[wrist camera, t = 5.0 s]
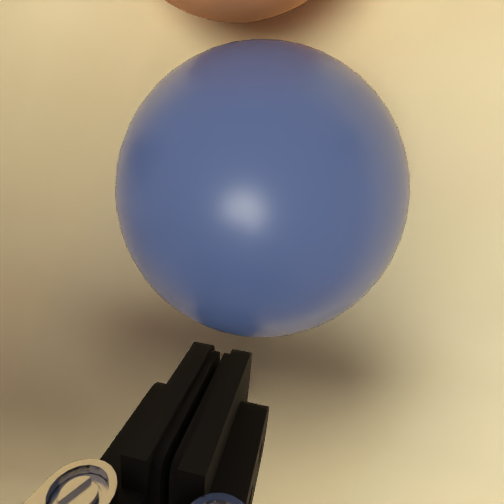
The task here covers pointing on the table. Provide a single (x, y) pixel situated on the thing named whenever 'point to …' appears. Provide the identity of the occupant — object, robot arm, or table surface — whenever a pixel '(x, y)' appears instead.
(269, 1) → the object ball
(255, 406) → the robot arm
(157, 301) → the table surface
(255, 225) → the blue ball
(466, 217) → the table surface
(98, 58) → the table surface
